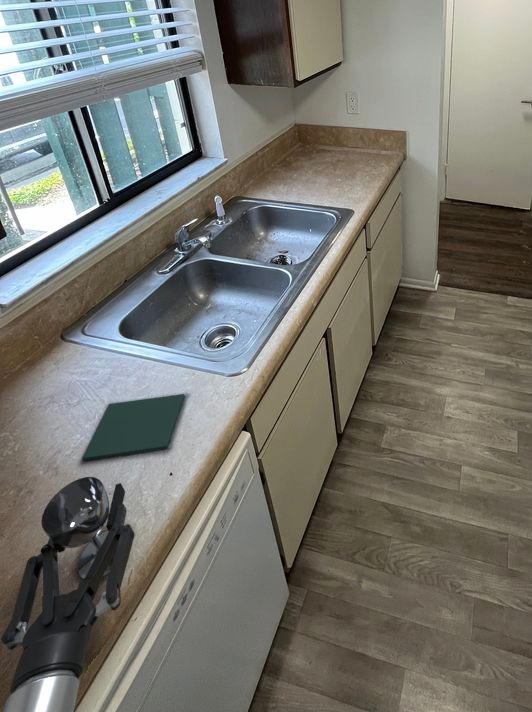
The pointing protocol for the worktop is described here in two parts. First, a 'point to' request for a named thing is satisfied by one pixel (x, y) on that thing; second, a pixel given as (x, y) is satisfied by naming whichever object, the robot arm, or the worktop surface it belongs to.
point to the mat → (135, 427)
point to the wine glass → (79, 519)
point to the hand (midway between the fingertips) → (96, 495)
